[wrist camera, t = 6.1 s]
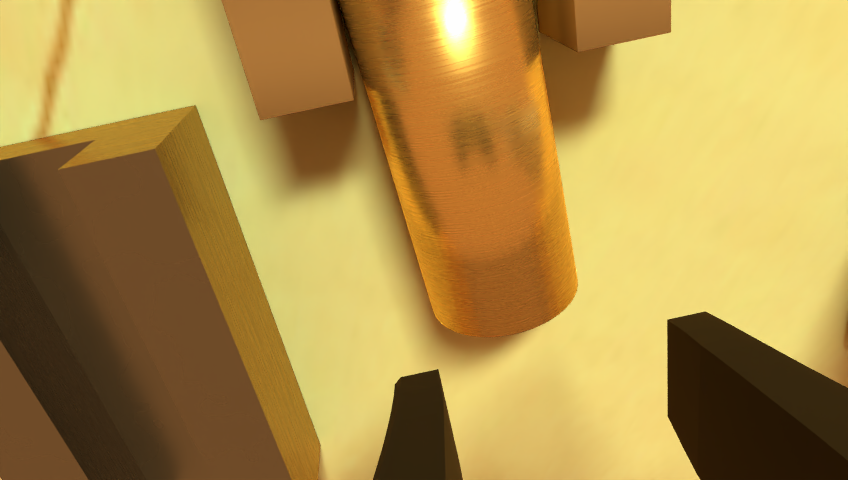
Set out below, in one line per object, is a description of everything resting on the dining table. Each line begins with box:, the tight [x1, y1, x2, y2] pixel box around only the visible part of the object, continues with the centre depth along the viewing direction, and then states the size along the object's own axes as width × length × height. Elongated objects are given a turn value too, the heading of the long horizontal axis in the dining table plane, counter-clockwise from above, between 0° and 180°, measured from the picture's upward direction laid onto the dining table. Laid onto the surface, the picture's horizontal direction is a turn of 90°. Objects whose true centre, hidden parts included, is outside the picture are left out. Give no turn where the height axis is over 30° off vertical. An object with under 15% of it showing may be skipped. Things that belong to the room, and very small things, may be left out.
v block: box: [0, 105, 320, 480], centre depth 17 cm, size 12×7×4 cm, turn 11°
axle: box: [339, 0, 578, 337], centre depth 14 cm, size 10×4×4 cm, turn 14°
